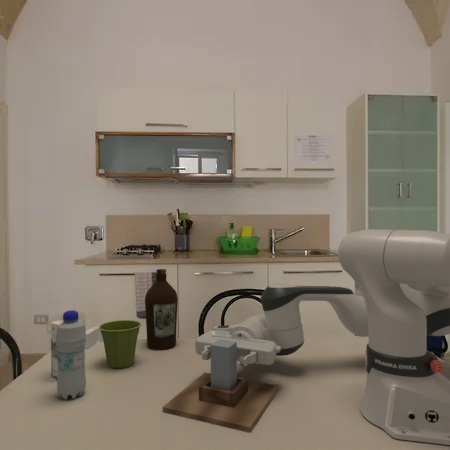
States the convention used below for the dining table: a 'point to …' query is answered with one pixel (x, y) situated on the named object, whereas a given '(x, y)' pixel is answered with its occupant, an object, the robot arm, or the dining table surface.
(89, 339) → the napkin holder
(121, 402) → the dining table surface
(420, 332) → the robot arm
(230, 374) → the grey peg
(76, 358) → the bottle
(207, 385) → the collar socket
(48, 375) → the dining table surface
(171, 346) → the olive oil
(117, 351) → the plant pot
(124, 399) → the dining table surface
